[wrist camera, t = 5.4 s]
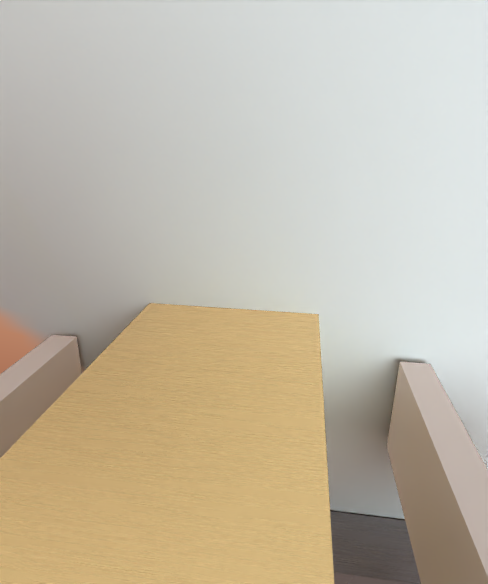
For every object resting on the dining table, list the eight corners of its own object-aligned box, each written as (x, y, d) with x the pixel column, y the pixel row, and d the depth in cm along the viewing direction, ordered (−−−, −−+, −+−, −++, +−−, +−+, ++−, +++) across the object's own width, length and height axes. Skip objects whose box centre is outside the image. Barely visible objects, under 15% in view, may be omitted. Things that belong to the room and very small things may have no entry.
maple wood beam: (159, 439, 13) (-34, 827, 6) (149, 303, 12) (-133, 594, 4) (307, 455, 13) (305, 912, 5) (318, 314, 11) (340, 678, 4)
